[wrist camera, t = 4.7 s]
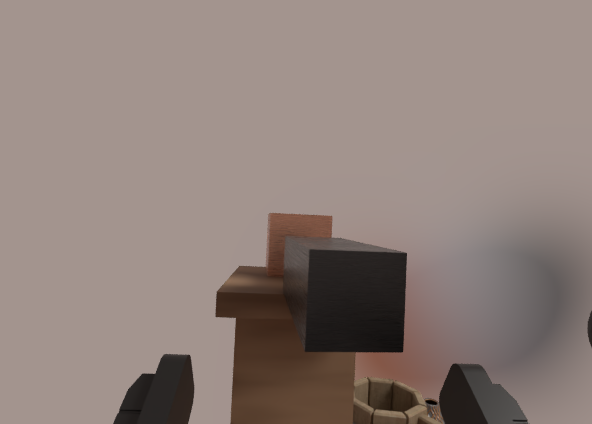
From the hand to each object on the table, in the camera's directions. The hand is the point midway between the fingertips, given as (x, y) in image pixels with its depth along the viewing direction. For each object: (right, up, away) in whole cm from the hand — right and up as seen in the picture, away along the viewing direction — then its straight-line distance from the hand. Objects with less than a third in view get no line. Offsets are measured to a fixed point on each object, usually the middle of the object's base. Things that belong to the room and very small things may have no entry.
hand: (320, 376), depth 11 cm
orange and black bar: (0, 0, +12) cm, 12 cm away
